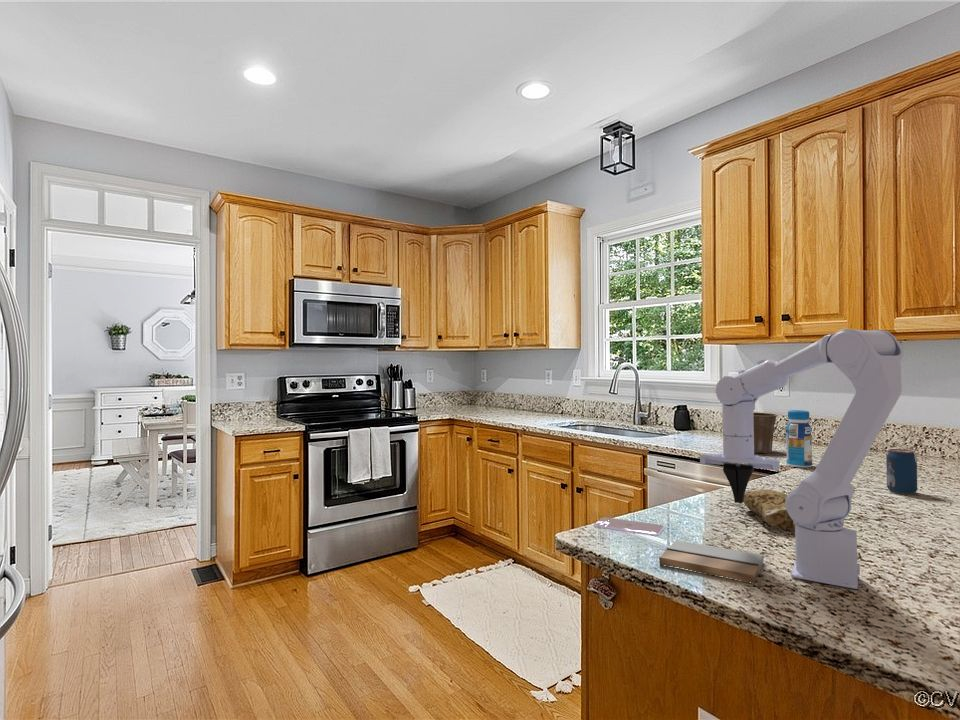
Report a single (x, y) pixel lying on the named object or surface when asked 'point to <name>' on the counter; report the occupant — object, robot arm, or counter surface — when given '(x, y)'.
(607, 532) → the counter surface
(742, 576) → the walnut board
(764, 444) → the plant pot
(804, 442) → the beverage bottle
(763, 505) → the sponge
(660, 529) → the mobile phone
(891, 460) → the soda can
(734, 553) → the grey plank
